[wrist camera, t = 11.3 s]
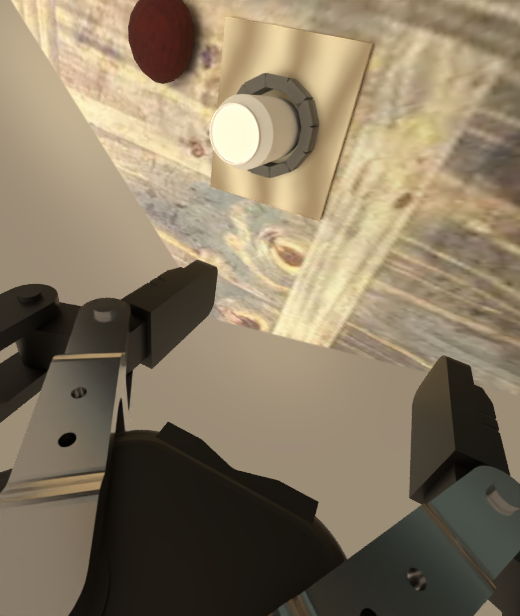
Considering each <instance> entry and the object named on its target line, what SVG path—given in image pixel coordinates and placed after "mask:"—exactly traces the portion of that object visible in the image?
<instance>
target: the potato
mask: <svg viewBox="0 0 520 616" xmlns="http://www.w3.org/2000/svg"><path fill="white" fill-rule="evenodd" d="M128 33H129V44H130V47H131V50H132V54H133V57H134V59H135V61H136V63H137V64H138V66H139V67H140V69H141V70H142V72H143V73H145V74H146V75H147V76H148V77H149V78H151V79H152V80H153V81H155V82H157V83H162V84H164V83H168V82H171V81H174V80H175V79H176V78H177V77H179V76H180V75H181V74H182V73H183V71H184V70H185V68H186V67H187V65H188V63H189V60H190V58H191V53H192V49H193V40H194V29H193V22H192V17H191V15H190V12H189V9H188V8H187V7H186V5H185V4H184V3H183V2H182V0H139V1H138V2H137V3H136V5H135V7H134V9H133V11H132V13H131V16H130V21H129V26H128Z"/></svg>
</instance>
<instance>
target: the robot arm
mask: <svg viewBox="0 0 520 616" xmlns="http://www.w3.org/2000/svg"><path fill="white" fill-rule="evenodd" d="M217 274H218V270H217V267H215V266H213V265H210V264H208V263H205V262H203V261H200V260H196V261H194V262H193V263H191V264H189V265H188V266H186V267H185V268H182V267H179V268H176V269H172V270H168V271H166V272H164V273H163V274H161V275H160V276H158V278H155V279H153V280H152V281H150V283H147V284H145V285H143V286H142V287H140V288H139V289H137V290H136V291H134V292H133V293H131V294H129V295H127V296H126V297H124V298H123V299H121V300H120V299H116V298H98V299H95V300H92V301H89V302H87V303H85V304H84V305H83V306H77V305H71V304H66V303H61V302H59V298H58V293H57V291H56V290H55V289H54V288H53V287H51V286H48V285H43V284H28V285H22V286H19V287H15V288H13V289H10V290H9V291H6V292H4V293H2V294H0V351H1V350H3V349H4V348H6V347H8V346H9V345H11V344H12V343H14V342H16V345H17V348H18V351H19V352H17V353H16V354H14V355H13V356H11V357H10V358H9V359H7V360H5V361H4V362H2V363H0V422H2V421H3V420H4V419H6V418H7V417H8V416H9V415H11V414H12V413H13V412H14V411H16V410H17V409H18V408H19V407H21V406H22V405H23V404H24V403H26V402H27V401H28V400H29V399H31V398H32V397H33V396H34V395H36V394H37V393H38V392H40V391H41V392H40V395H39V397H38V400H37V403H36V406H35V409H34V411H33V414H32V417H31V419H30V422H29V425H28V428H27V430H26V433H25V436H24V439H23V442H22V444H21V447H20V450H19V453H18V455H17V458H16V461H15V464H14V466H13V468H12V469H9V470H6V471H3V472H0V616H474V615H475V614H476V612H477V611H478V610H479V609H480V608H481V606H482V605H483V604H484V603H485V602H486V601H487V600H489V601H490V602H492V604H494V605H495V606H496V607H497V608H498V609H499V610H500V611H501V612H502V616H520V484H519V483H518V482H517V481H516V480H515V479H513V478H512V477H511V476H510V473H509V469H508V464H507V460H506V456H505V453H504V448H503V444H502V440H501V436H500V433H499V432H498V431H499V427H498V423H497V421H496V420H495V419H496V415H495V411H494V407H493V403H492V402H491V400H490V399H489V397H488V396H487V394H486V393H485V391H484V390H483V389H482V388H481V387H479V386H476V385H474V382H473V376H472V371H471V367H470V366H469V365H467V364H465V363H462V362H460V361H457V360H454V359H452V358H449V357H447V356H441V357H440V358H439V359H438V361H437V362H436V363H435V365H434V366H433V368H432V369H431V371H430V372H429V373H428V375H427V376H426V378H425V379H424V381H423V382H422V384H421V385H420V386H419V388H418V390H417V392H416V394H415V397H414V400H413V404H412V431H411V461H410V492H409V493H410V494H409V495H410V496H409V498H410V499H412V500H414V501H416V502H418V503H420V504H422V505H421V506H419V507H418V508H417V509H415V510H414V511H412V512H411V513H410V514H408V515H407V516H406V517H404V518H403V519H402V520H400V521H399V522H398V523H396V524H395V525H393V526H392V527H391V528H389V529H388V530H387V531H385V532H384V533H383V534H381V535H380V536H379V537H377V538H376V539H374V540H373V541H372V542H370V543H369V544H368V545H366V546H365V547H364V548H362V549H361V550H360V551H358V552H357V553H355V554H354V555H353V556H351V557H350V558H349V559H347V558H346V556H345V554H344V552H343V551H342V549H341V547H340V545H339V544H338V542H337V541H336V539H335V538H334V536H333V535H332V534H331V532H330V531H329V530H328V529H327V528H326V527H325V525H324V524H323V523H322V522H321V521H320V520H319V519H318V518H317V517H316V516H315V514H316V510H317V506H318V501H316V500H314V499H312V498H310V497H308V496H306V495H304V494H303V493H301V492H299V491H297V490H295V489H293V488H291V487H290V486H288V485H285V484H284V483H282V482H280V481H278V480H275V479H270V478H266V477H262V476H258V475H254V474H250V473H246V472H242V471H238V470H235V469H233V468H232V467H230V466H229V465H228V464H227V463H226V462H225V461H224V460H223V459H222V458H221V457H220V456H219V455H218V454H217V453H216V452H215V451H213V450H212V449H211V448H210V447H209V446H208V445H207V444H206V443H205V442H204V441H203V440H201V439H200V438H198V437H196V436H194V435H192V434H190V433H189V432H187V431H185V430H183V429H181V428H179V427H177V426H175V425H174V424H172V423H170V422H167V424H166V425H165V426H164V427H163V428H162V430H161V431H160V432H157V431H151V430H132V431H130V418H131V407H132V395H133V382H134V368H135V367H136V366H138V365H139V364H140V363H141V364H143V365H145V366H147V367H149V368H151V369H152V368H153V367H154V366H156V365H157V364H158V363H159V362H160V361H161V360H162V359H163V358H164V357H165V356H166V355H167V354H168V353H169V352H170V351H171V350H172V349H173V348H174V347H175V346H177V345H178V344H179V343H180V342H181V341H182V340H183V339H184V338H185V337H186V336H187V335H188V334H189V333H190V332H191V331H192V330H194V328H196V327H197V326H198V324H200V323H201V322H202V321H203V320H204V319H205V318H206V317H207V316H208V315H209V313H210V312H211V310H212V307H213V305H214V299H215V291H216V282H217Z"/></svg>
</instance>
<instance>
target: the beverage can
mask: <svg viewBox="0 0 520 616" xmlns="http://www.w3.org/2000/svg"><path fill="white" fill-rule="evenodd" d="M300 132H301V122H300V118H299V113H298V111H297V109H296V108H295V106H294V105H293V104H292V103H291V102H289V101H288V100H286V99H284V98H280V97H272V96H261V95H249V94H237V95H233V96H231V97H229V98H227V99H226V100H225V101H224V102H223V103H222V104H221V105H220V106H219V108H218V110H217V111H216V112H215V113H214V115H213V117H212V120H211V123H210V140H211V144H212V147H213V149H214V151H215V152H216V154H217V155H218V156H219V157H220V158H221V159H222V160H223V161H224V162H226V163H228V164H229V165H230V166H232V167H234V168H237V169H241V170H249V169H253V168H255V167H258V166H261V165H263V164H266V163H269V162H271V161H274V160H277V159H279V158H282V157H284V156H286V155H288V154H289V153H290V152H292V151H293V149H294V148H295V147H296V145H297V144H298V141H299V137H300Z"/></svg>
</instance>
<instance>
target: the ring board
mask: <svg viewBox="0 0 520 616" xmlns="http://www.w3.org/2000/svg"><path fill="white" fill-rule="evenodd" d="M372 49H373V44H371V43H366V42H361V41H355V40H350V39H345V38H339V37H334V36H329V35H323V34H318V33H313V32H307V31H302V30H297V29H291V28H286V27H281V26H275V25H270V24H265V23H260V22H254V21H249V20H244V19H238V18H233V17H228V16H225V27H224V39H223V50H222V61H221V72H220V84H219V95H218V106H217V110H218V108H219V106H220V105H221V104H222V103H223V102H224V101H225V100H226V99H227V98H229V97H231V96H233V95H237V94H249V95H261V96H272V97H280V98H284V99H286V100H288V101H289V102H291V103H292V104H293V105H294V106H295V108H296V109H297V111H298V113H299V118H300V122H301V132H300V137H299V141H298V144H297V145H296V147H295V148H294V149H293V151H292V152H290V153H289V154H288V155H286V156H284V157H282V158H279V159H277V160H274V161H271V162H269V163H266V164H263V165H261V166H258V167H255V168H253V169H249V170H241V169H237V168H234V167H232V166H230V165H229V164H228V163H226V162H224V161H223V160H222V159H221V158H220V157H219V156H218V155H217V154H216V152H215V151H213V163H212V174H211V185H210V186H211V187H214V188H217V189H220V190H223V191H226V192H230V193H233V194H236V195H239V196H242V197H245V198H248V199H252V200H255V201H258V202H261V203H264V204H267V205H271V206H274V207H277V208H280V209H283V210H286V211H289V212H293V213H296V214H299V215H302V216H305V217H308V218H312V219H315V220H318V221H320V220H321V218H322V215H323V211H324V208H325V205H326V202H327V198H328V195H329V192H330V188H331V185H332V182H333V178H334V175H335V172H336V168H337V165H338V162H339V158H340V155H341V152H342V148H343V145H344V142H345V139H346V135H347V132H348V129H349V125H350V122H351V119H352V115H353V112H354V109H355V105H356V102H357V99H358V95H359V92H360V89H361V85H362V82H363V79H364V76H365V72H366V69H367V66H368V62H369V59H370V56H371V52H372Z"/></svg>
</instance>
